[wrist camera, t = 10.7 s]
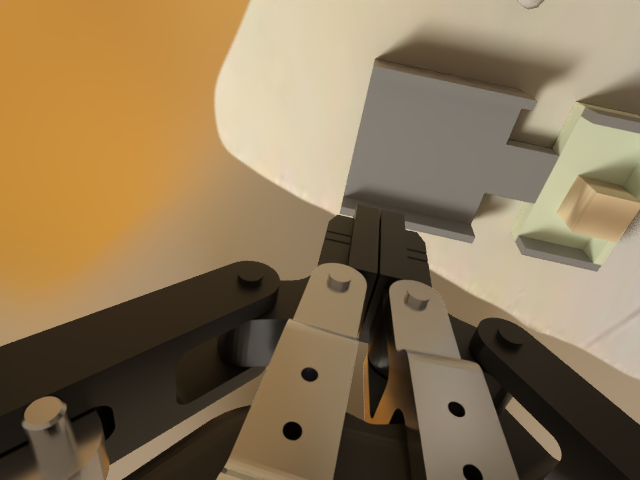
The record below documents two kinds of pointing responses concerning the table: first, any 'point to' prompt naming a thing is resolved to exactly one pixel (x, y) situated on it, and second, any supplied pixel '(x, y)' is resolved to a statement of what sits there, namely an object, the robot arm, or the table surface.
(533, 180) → the trap box
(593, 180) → the birch block
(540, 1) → the bunny figurine
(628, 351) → the table surface
